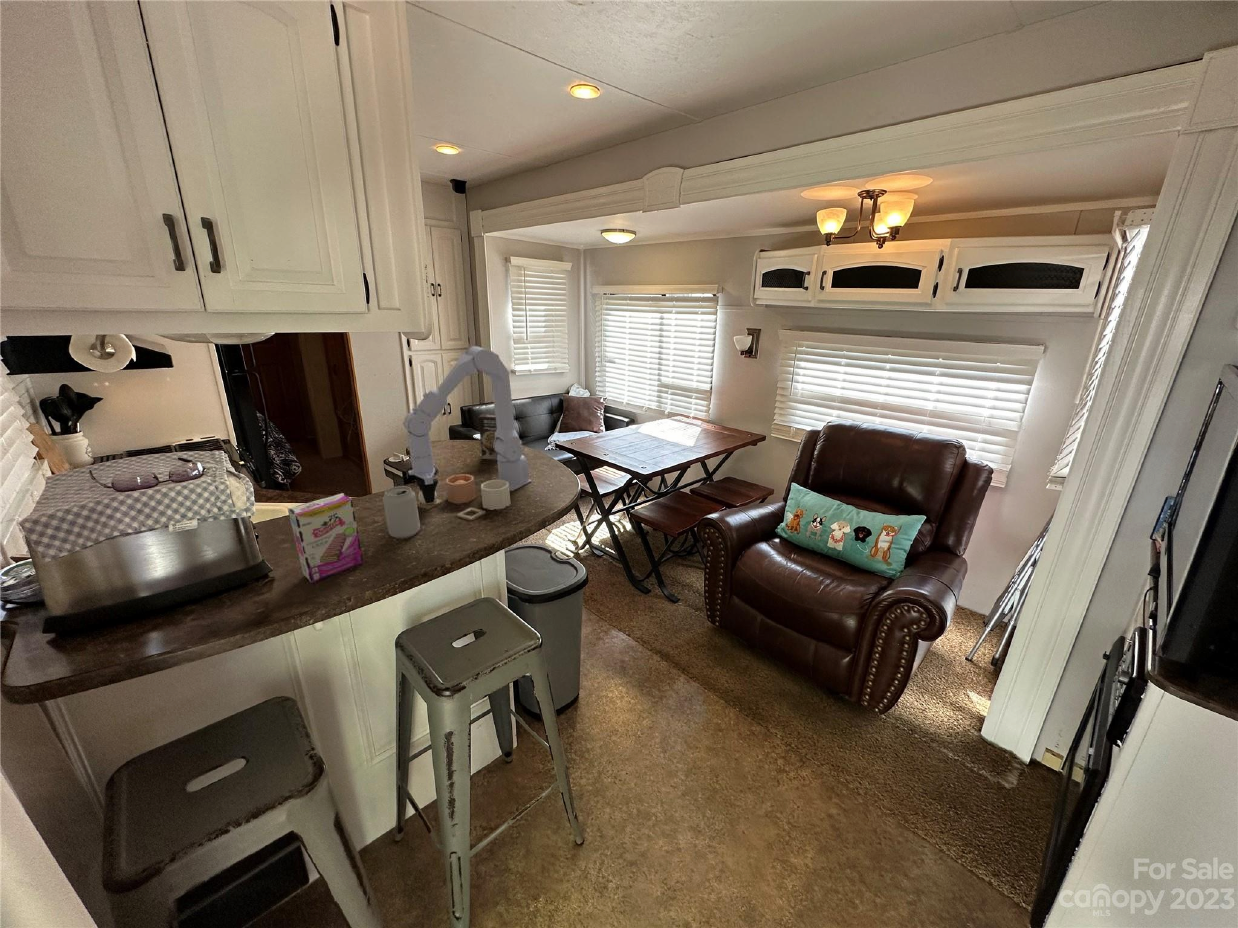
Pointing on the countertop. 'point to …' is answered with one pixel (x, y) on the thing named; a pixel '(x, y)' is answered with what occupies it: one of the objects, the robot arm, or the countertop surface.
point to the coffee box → (487, 435)
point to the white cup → (495, 494)
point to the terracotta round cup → (460, 488)
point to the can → (401, 512)
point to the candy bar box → (326, 536)
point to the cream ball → (423, 498)
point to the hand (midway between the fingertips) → (428, 498)
